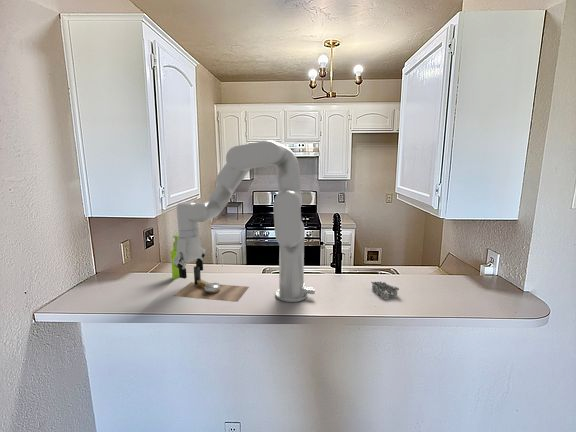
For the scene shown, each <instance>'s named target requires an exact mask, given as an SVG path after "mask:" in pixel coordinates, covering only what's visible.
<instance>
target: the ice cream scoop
mask: <svg viewBox="0 0 576 432" xmlns="http://www.w3.org/2000/svg"><path fill="white" fill-rule="evenodd" d="M201 275H202V274H201V271H200V266H196V265H195V266H193V279H194V280H193V282H194V284H200V285H202V286H204V287H205V292H206V293H209V294H213V293H217V292H219V291H220V285H221V284H220V283H218V282H208V281H205V280H203V279H201Z"/></svg>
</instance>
